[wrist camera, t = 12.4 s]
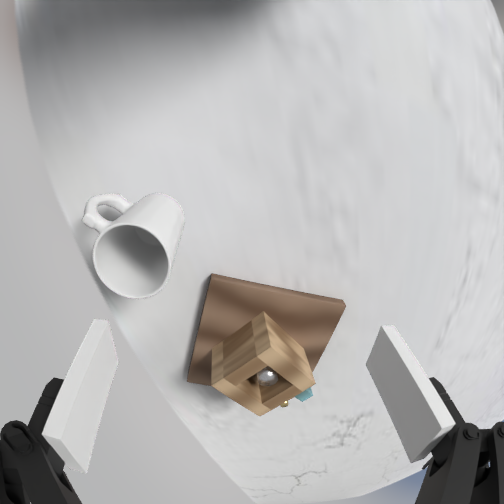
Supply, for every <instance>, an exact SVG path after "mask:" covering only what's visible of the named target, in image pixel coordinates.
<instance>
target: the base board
mask: <svg viewBox="0 0 504 504" xmlns="http://www.w3.org/2000/svg"><path fill="white" fill-rule="evenodd" d="M345 307H346V305H345V303H344V301H343V300H340V299H335V298H330V297H324V296H319V295H314V294H309V293H304V292H299V291H294V290H288V289H284V288H279V287H274V286H269V285H264V284H259V283H254V282H249V281H245V280H240V279H235V278H230V277H226V276H221V275H217V274H211V278H210V282H209V286H208V290H207V294H206V299H205V303H204V307H203V311H202V315H201V319H200V324H199V328H198V332H197V336H196V341H195V345H194V350H193V354H192V358H191V363H190V367H189V372H188V378H187V382H191V383H197V384H203V385H209V386H211V374H212V348H214V347H215V346H216V345H218V344H219V343H221V342H222V341H223V340H225V339H226V338H228V337H229V336H230V335H232V334H233V333H234V332H236V331H237V330H239V329H240V328H241V327H243V326H244V325H245V324H247V323H248V322H250V321H251V320H252V319H254V318H255V317H256V316H258V315H259V314H260V313H262V312H263V311H264V312H265V313H266V314H267V315H268V316H269V317H270V318H271V319H272V320H273V321H275V322H276V323H277V324H278V325H279V326H280V327H281V328H282V329H283V330H284V331H285V332H286V333H287V334H289V335H290V336H291V337H292V338H293V339H294V340H295V341H296V342H297V343H298V344H299V345H300V346H302V347H303V348H304V351H305V354H306V357H307V359H308V362H309V365H310V368H311V371H312V372H313V370H314V368H315V367H316V365H317V363H318V361H319V359H320V357H321V355H322V353H323V352H324V350H325V348H326V346H327V344H328V342H329V340H330V338H331V336H332V334H333V332H334V330H335V328H336V326H337V324H338V322H339V320H340V318H341V316H342V314H343V312H344V309H345Z"/></svg>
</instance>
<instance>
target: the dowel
mask: <svg viewBox="0 0 504 504" xmlns="http://www.w3.org/2000/svg"><path fill="white" fill-rule="evenodd" d="M280 406H281V407H286V406H288V401H286V402H285V403H283V404H281V405H280Z"/></svg>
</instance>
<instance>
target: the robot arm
mask: <svg viewBox="0 0 504 504" xmlns="http://www.w3.org/2000/svg"><path fill="white" fill-rule="evenodd" d="M118 363H119V360H118V357H117V353H116V349H115V345H114V340H113V337H112V332H111V328H110V323H109V320H102V319H94V320H93V322H92V324H91V326H90V328H89V330H88V332H87V334H86V336H85V338H84V340H83V342H82V344H81V346H80V348H79V350H78V352H77V354H76V356H75V358H74V360H73V362H72V364H71V366H70V369H69V371H68V373H67V375H66V377H65V379H64V380H63V379H58V378H53V379H52V380H51V381H50V382H49V383H48V384H47V385H46V387H45V389H44V391H43V393H42V397H40V399H39V402H38V404H37V406H36V408H35V410H34V413H33V415H32V418H31V420H30V422H29V424H28V427H27V426H26V424H24V423H23V422H21V421H17V420H16V421H10V422H9V423H7V424H5V425H4V427H3V428H2V430H1V433H0V438H1V440H0V504H30V502H31V504H82V503H81V501H80V499H79V498H78V496H77V494H76V493H75V491H74V489H73V487H72V485H71V484H70V482H69V480H68V478H67V476H66V474H65V472H64V471H63V467H64V464H66V465H67V466H68V467H69V469H72V470H75V471H79V472H82V473H87V471H88V466H89V463H90V458H91V455H92V450H93V447H94V443H95V438H96V436H97V432H98V428H99V425H100V421H101V418H102V414H103V411H104V407H105V404H106V401H107V397H108V394H109V391H110V388H111V385H112V382H113V379H114V375H115V373H116V369H117V367H118ZM366 366H367V368H368V370H369V372H370V375H371V377H372V379H373V381H374V383H375V385H376V387H377V389H378V391H379V393H380V396H381V398H382V400H383V402H384V404H385V406H386V408H387V411H388V413H389V415H390V417H391V419H392V422H393V424H394V426H395V428H396V430H397V433H398V435H399V437H400V439H401V442H402V444H403V446H404V449H405V451H406V453H407V456H408V458H409V460H410V463H413V462H416V461H419V460H422V459H424V458H425V457H426V456H427V455H428V454H429V453H430V452H431V453H432V455H433V457H432V458H431V459H430V460H429V461H428V462H427V463H426V464H425V465H424V466H423V468H422V469H425V468H426V467H427V466H428V468H427V471H426V475H425V478H424V480H423V483H422V486H421V489H420V492H419V494H418V497H417V500H416V502H415V504H504V422H497V423H496V424H495V425H494V426H493V427H492V428H491V429H479V428H478V427H477V426H476V425H474V424H472V423H465V421H464V420H463V418H462V416H461V415H460V413H459V411H458V410H457V408H456V406H455V405H454V403H453V402H452V400H450V397H449V395H448V393H446V390H445V389H444V387H443V386H442V384H441V383H440V382H439V381H437V380H436V379H435V378H434V377H432V378H428V376H427V375H426V373H425V372H424V370H423V369H422V367H421V365H420V364H419V362H418V361H417V359H416V358H415V356H414V355H413V353H412V352H411V350H410V349H409V347H408V345H407V344H406V342H405V341H404V339H403V338H402V336H401V335H400V334H399V332H398V331H397V329H396V328H395V326H394V325H386V326H381V328H380V331H379V333H378V336H377V338H376V341H375V343H374V346H373V348H372V351H371V353H370V356H369V358H368V360H367V363H366ZM488 462H490V467H489V465H488Z"/></svg>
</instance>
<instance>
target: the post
mask: <svg viewBox="0 0 504 504" xmlns="http://www.w3.org/2000/svg"><path fill="white" fill-rule="evenodd" d="M257 380H258V383H259V384H260V385H262V386H271V385H274V384H275V383H276V382H277V381H278V376H277V372H276V371H275V370H273V369H272V368H271V367H269V366H267V367H265V368H264V369H262V370H260V371H259V372H257Z"/></svg>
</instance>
